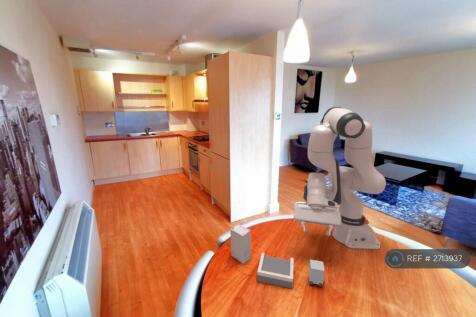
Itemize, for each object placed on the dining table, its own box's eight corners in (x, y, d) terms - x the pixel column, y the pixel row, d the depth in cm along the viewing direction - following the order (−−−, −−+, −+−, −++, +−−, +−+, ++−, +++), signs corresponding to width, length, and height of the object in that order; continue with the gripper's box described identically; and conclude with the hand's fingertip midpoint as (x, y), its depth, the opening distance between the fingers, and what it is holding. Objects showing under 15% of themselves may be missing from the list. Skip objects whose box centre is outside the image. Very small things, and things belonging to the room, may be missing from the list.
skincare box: (251, 258, 100) (252, 230, 96) (242, 264, 96) (242, 235, 92) (239, 249, 106) (239, 223, 102) (230, 255, 101) (229, 228, 98)
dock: (292, 266, 95) (293, 258, 93) (292, 288, 83) (293, 279, 82) (261, 260, 98) (261, 252, 97) (257, 281, 87) (257, 271, 86)
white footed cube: (320, 277, 89) (322, 261, 87) (322, 288, 83) (324, 271, 82) (308, 275, 90) (310, 259, 88) (309, 285, 85) (310, 268, 83)
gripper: (294, 198, 99) (292, 228, 93) (341, 203, 94) (343, 236, 87) (293, 203, 105) (291, 231, 98) (338, 208, 99) (339, 239, 93)
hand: (316, 233), depth 93 cm, fingers open, 8 cm apart
